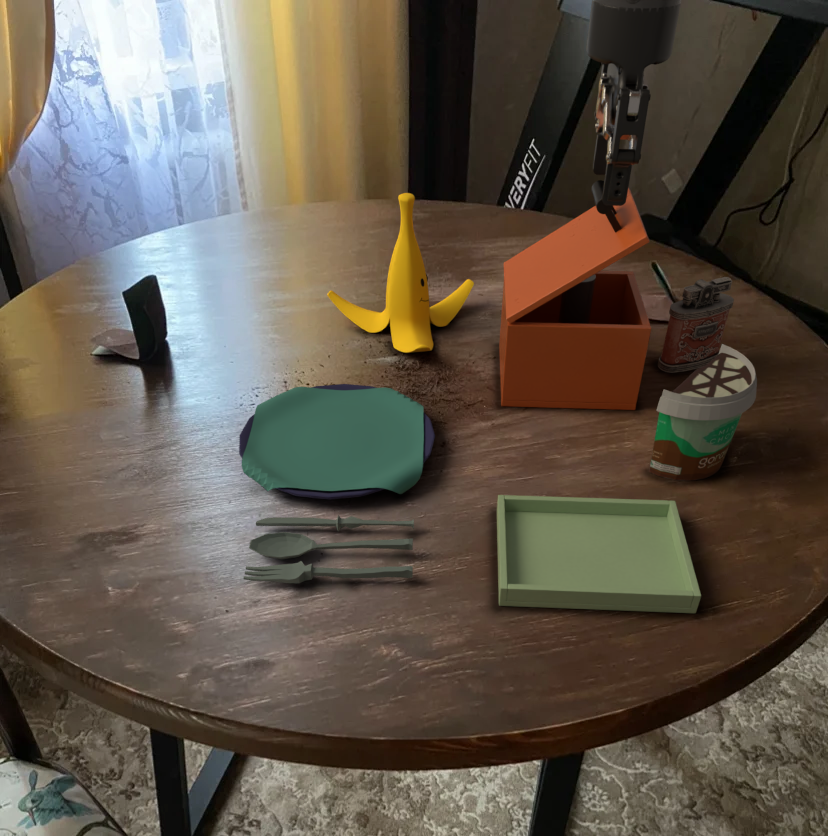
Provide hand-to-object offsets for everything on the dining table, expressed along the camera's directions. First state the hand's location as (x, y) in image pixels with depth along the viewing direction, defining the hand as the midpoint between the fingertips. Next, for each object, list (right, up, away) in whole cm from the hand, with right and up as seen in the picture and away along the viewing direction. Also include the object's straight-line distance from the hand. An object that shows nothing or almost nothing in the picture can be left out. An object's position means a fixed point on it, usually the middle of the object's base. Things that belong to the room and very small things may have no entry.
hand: (607, 188), depth 83 cm
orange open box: (-2, -16, +14) cm, 21 cm away
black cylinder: (-1, -15, +14) cm, 21 cm away
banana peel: (-22, -8, +24) cm, 33 cm away
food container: (+10, -27, +2) cm, 29 cm away
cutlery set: (-27, -29, 0) cm, 40 cm away
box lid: (-3, -5, +5) cm, 8 cm away
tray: (-4, -36, -9) cm, 38 cm away
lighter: (+13, -14, +17) cm, 25 cm away
